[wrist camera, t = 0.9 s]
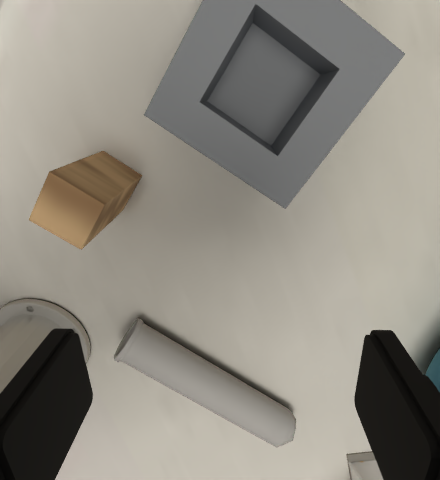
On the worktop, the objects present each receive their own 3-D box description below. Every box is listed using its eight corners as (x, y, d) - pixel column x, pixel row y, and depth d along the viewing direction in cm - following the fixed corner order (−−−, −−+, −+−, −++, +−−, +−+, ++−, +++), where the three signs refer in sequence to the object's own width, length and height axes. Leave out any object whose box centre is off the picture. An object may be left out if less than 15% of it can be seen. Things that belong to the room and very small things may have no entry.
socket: (276, 187, 33) (285, 208, 27) (164, 111, 31) (143, 114, 25) (368, 63, 29) (405, 53, 22) (243, -37, 26) (243, -80, 20)
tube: (310, 429, 41) (136, 328, 36) (285, 464, 41) (109, 367, 37) (295, 402, 46) (141, 311, 42) (273, 433, 47) (117, 345, 42)
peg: (123, 210, 35) (81, 249, 26) (85, 187, 34) (28, 219, 25) (142, 175, 34) (104, 204, 24) (103, 150, 33) (49, 171, 24)
